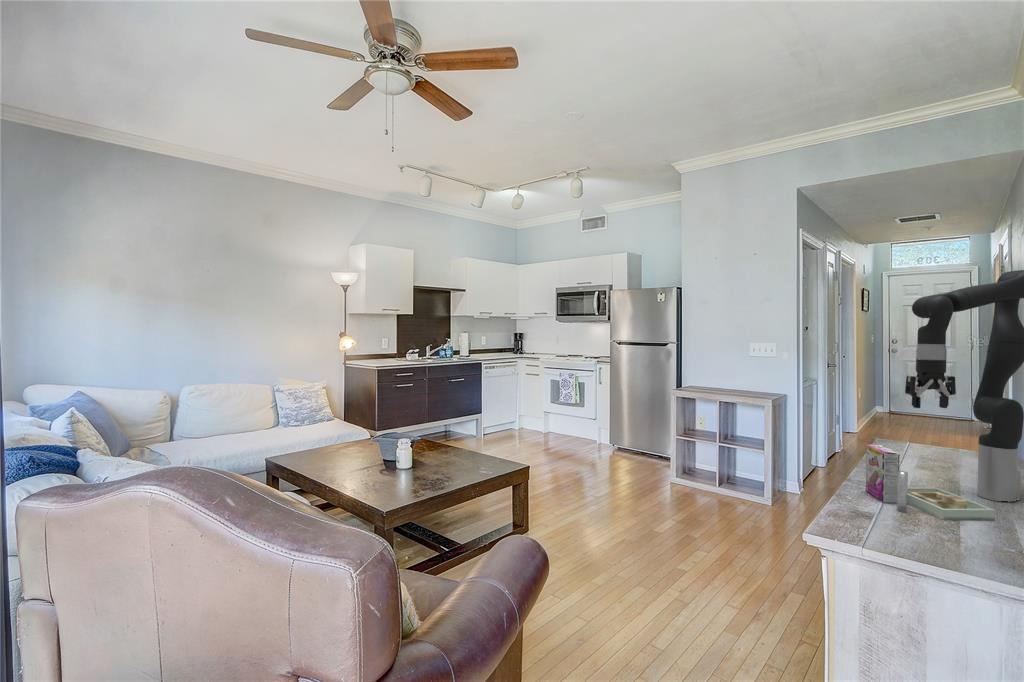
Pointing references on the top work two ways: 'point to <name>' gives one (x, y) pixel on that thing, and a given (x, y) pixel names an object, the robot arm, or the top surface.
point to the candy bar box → (882, 473)
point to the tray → (971, 513)
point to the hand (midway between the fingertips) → (929, 407)
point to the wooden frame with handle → (942, 500)
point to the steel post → (902, 491)
